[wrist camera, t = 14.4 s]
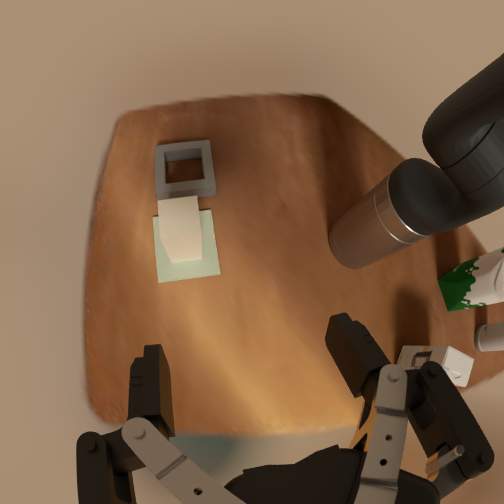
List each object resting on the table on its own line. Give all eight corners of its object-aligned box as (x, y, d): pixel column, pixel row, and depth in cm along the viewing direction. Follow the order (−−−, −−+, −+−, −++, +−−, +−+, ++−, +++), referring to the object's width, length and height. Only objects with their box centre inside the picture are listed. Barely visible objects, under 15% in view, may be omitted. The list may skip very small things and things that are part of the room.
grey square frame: (208, 150, 46) (209, 139, 43) (215, 195, 43) (216, 186, 41) (157, 156, 44) (154, 145, 41) (158, 202, 42) (155, 193, 39)
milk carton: (454, 262, 49) (524, 234, 30) (466, 299, 47) (537, 281, 28) (433, 277, 47) (511, 250, 28) (446, 318, 45) (525, 303, 26)
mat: (210, 210, 43) (210, 209, 42) (220, 274, 40) (220, 273, 40) (153, 218, 41) (152, 217, 40) (158, 282, 38) (158, 282, 38)
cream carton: (198, 229, 41) (197, 195, 31) (202, 258, 40) (201, 233, 30) (168, 233, 40) (157, 200, 30) (171, 262, 39) (160, 238, 29)
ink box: (430, 357, 42) (476, 357, 31) (422, 382, 41) (467, 387, 29) (401, 344, 42) (449, 342, 31) (392, 371, 40) (439, 376, 29)
